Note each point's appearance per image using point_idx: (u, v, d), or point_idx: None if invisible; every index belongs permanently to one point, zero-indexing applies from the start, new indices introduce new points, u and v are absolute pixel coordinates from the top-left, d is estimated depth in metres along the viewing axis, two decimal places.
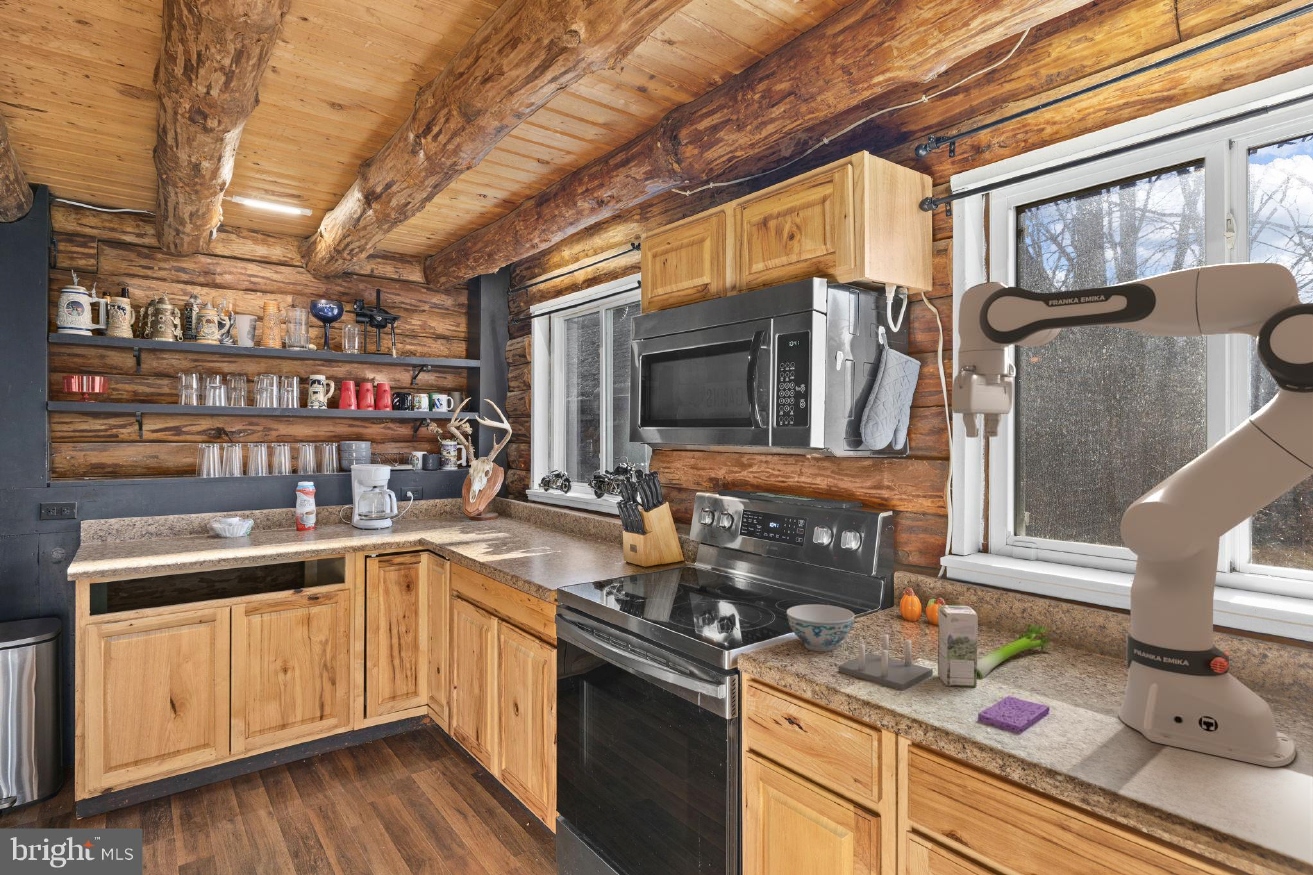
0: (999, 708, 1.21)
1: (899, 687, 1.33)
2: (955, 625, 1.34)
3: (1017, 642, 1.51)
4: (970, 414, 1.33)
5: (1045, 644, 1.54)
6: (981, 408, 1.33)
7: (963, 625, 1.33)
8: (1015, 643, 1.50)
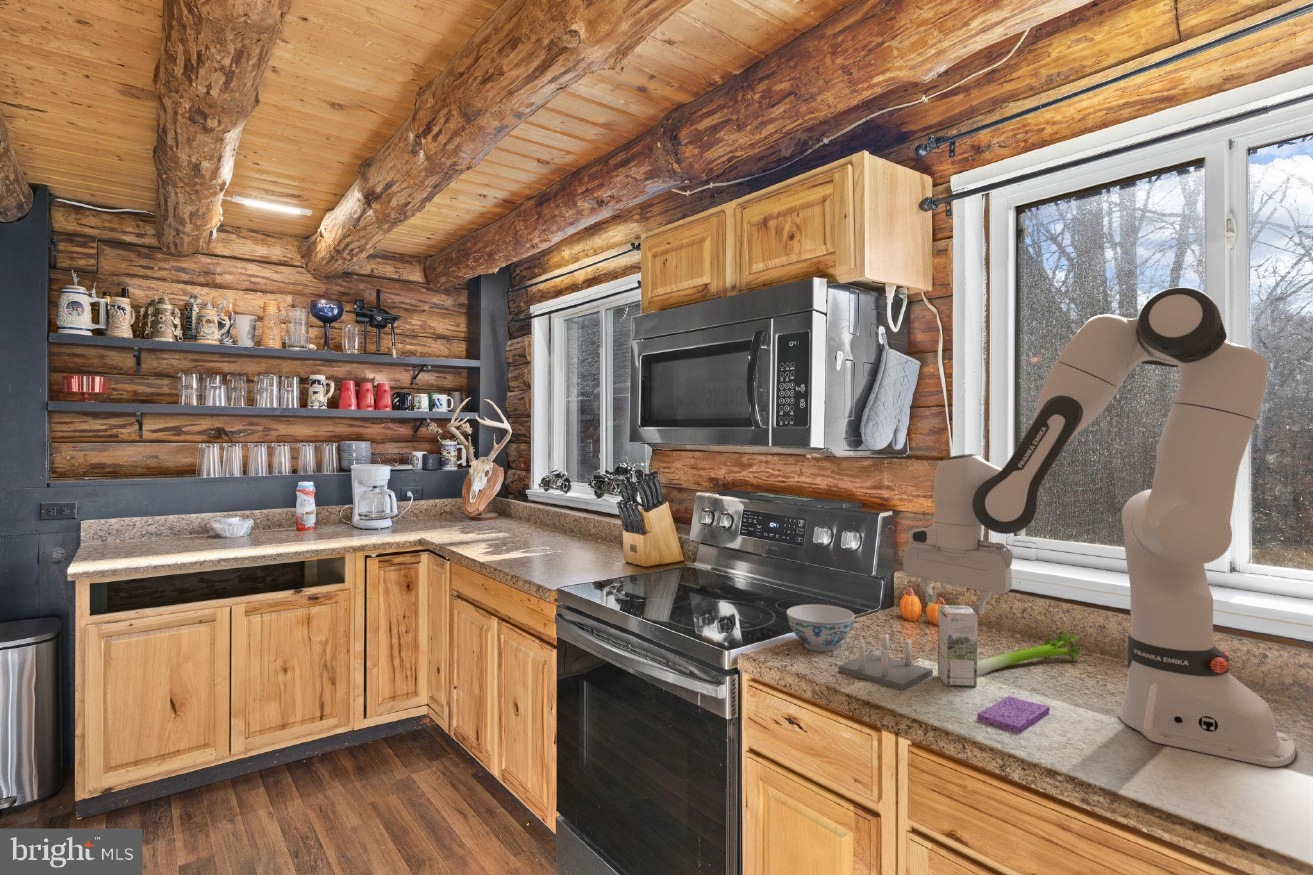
0: (999, 708, 1.21)
1: (899, 687, 1.33)
2: (955, 625, 1.34)
3: (1036, 648, 1.47)
4: None
5: (1074, 653, 1.47)
6: None
7: (963, 625, 1.33)
8: (1033, 648, 1.47)
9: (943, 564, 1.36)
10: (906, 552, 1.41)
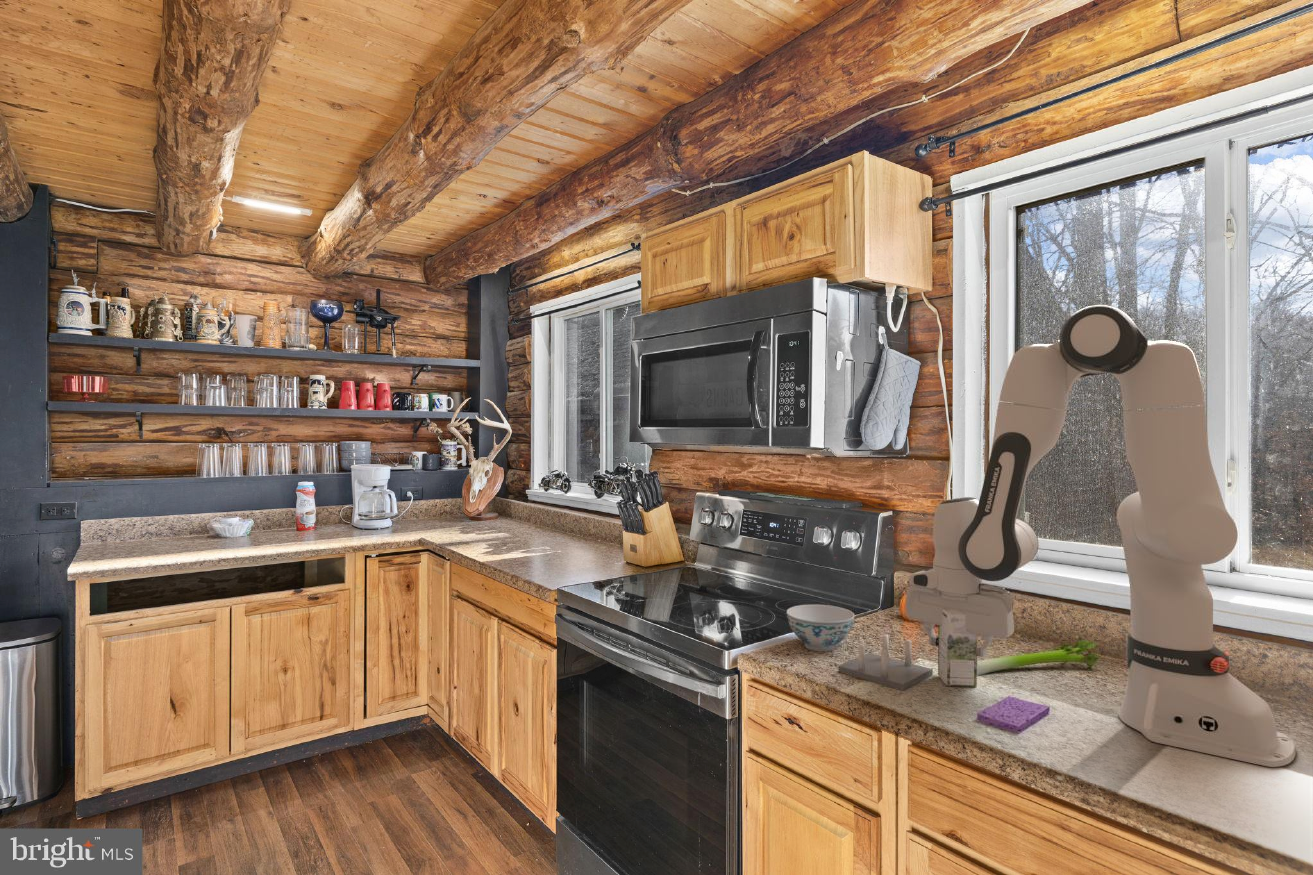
0: (999, 708, 1.21)
1: (899, 687, 1.33)
2: (955, 625, 1.34)
3: (1047, 652, 1.44)
4: None
5: (1090, 661, 1.43)
6: None
7: (963, 625, 1.33)
8: (1043, 653, 1.44)
9: None
10: (908, 595, 1.41)
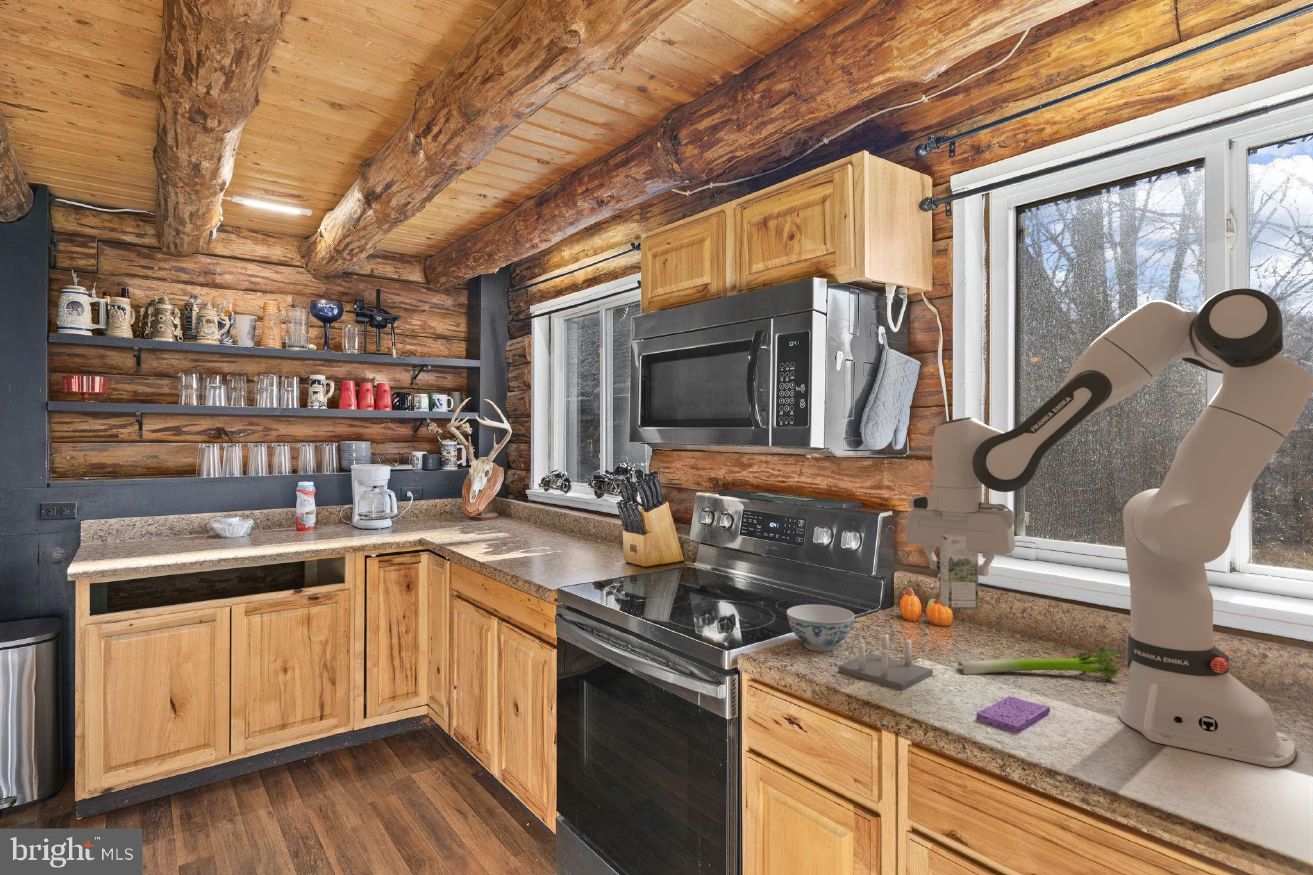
0: (998, 708, 1.21)
1: (899, 687, 1.33)
2: (955, 547, 1.33)
3: (1059, 659, 1.40)
4: (993, 552, 1.32)
5: (1107, 672, 1.36)
6: None
7: (963, 547, 1.33)
8: (1054, 659, 1.40)
9: (945, 529, 1.36)
10: (908, 519, 1.41)
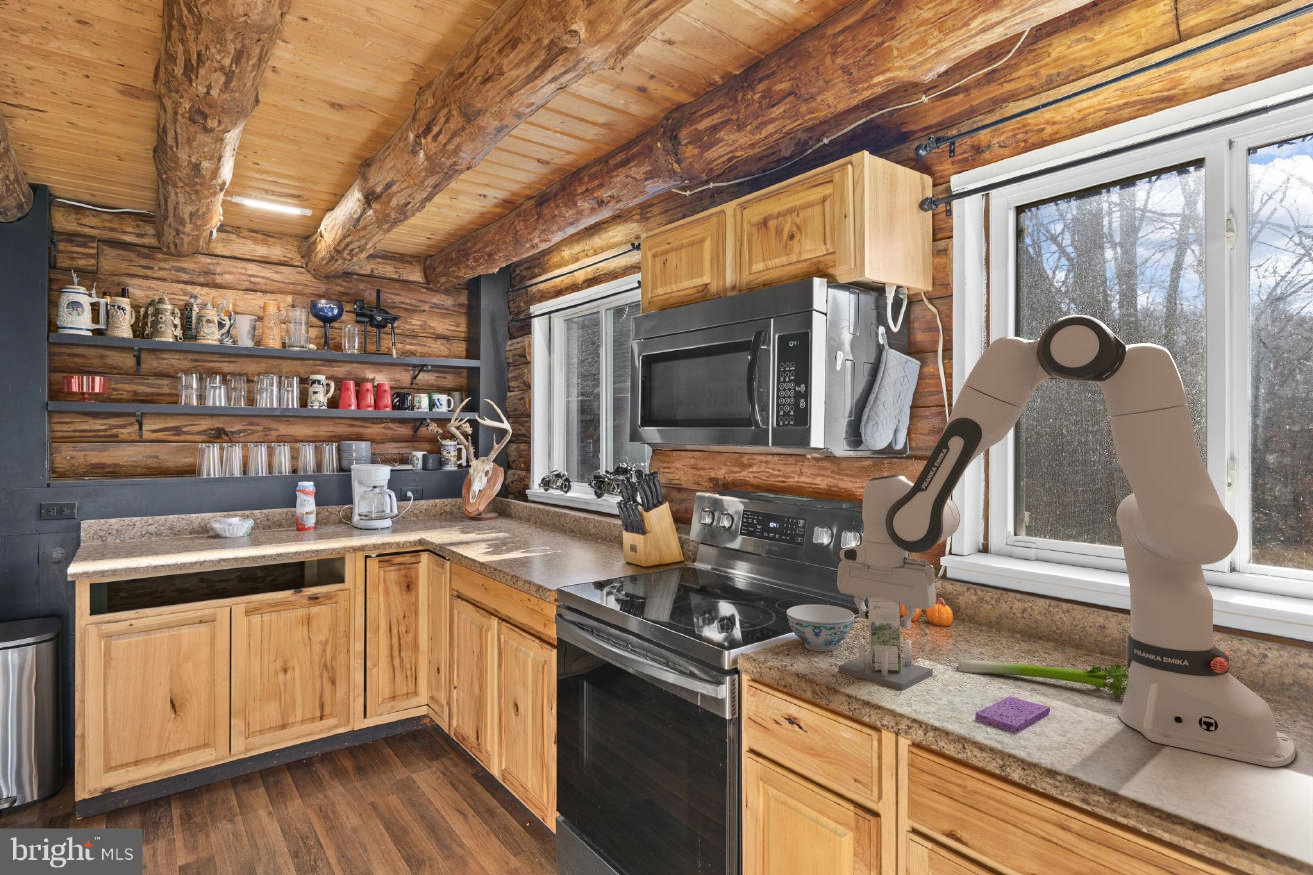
0: (998, 708, 1.21)
1: (899, 687, 1.33)
2: (877, 612, 1.38)
3: (1064, 669, 1.34)
4: None
5: (1113, 688, 1.28)
6: None
7: (885, 612, 1.38)
8: (1059, 669, 1.34)
9: (872, 581, 1.41)
10: (839, 569, 1.46)
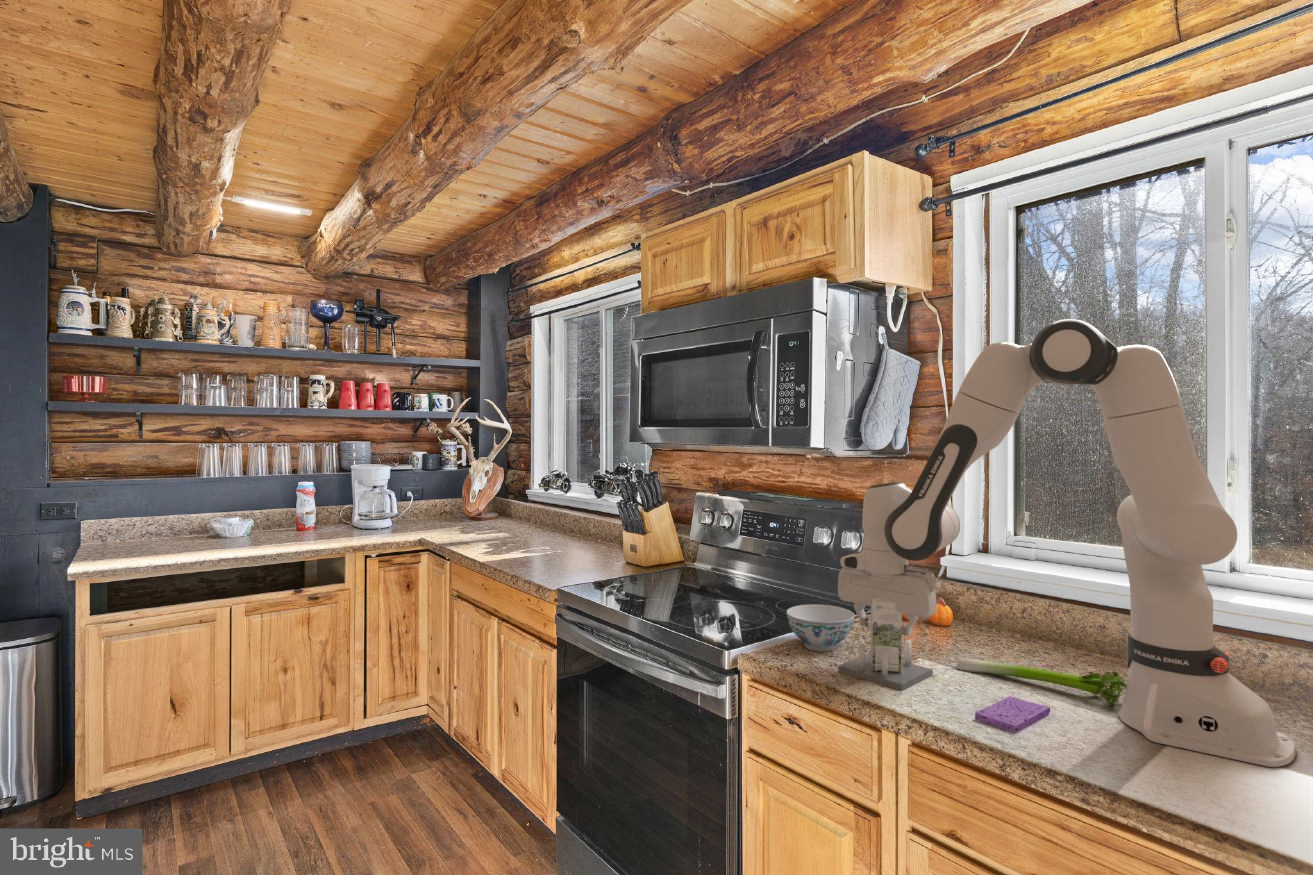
0: (998, 708, 1.21)
1: (899, 687, 1.33)
2: (880, 612, 1.38)
3: (1060, 673, 1.32)
4: None
5: (1104, 695, 1.24)
6: None
7: (888, 613, 1.38)
8: (1055, 673, 1.32)
9: (873, 589, 1.41)
10: (840, 577, 1.46)
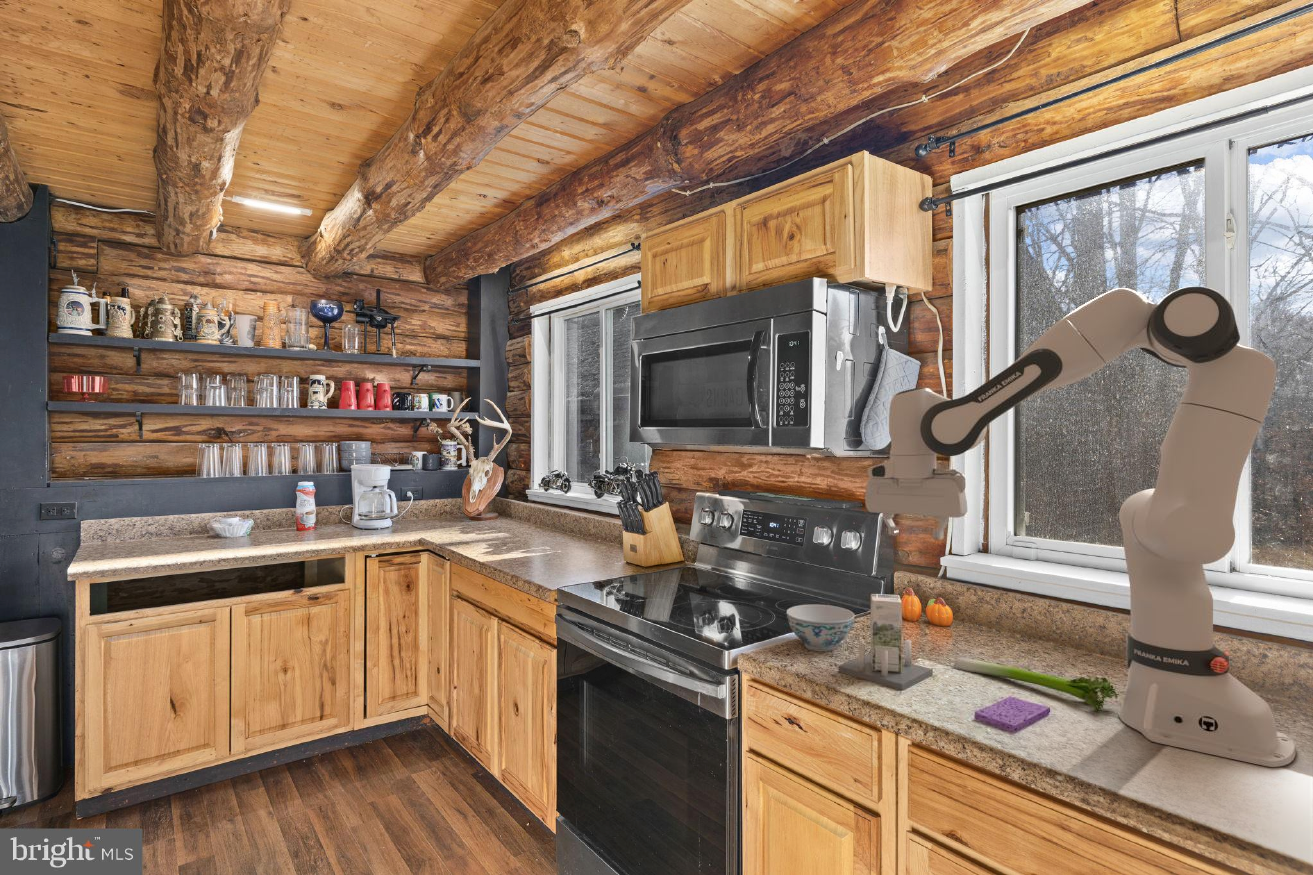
0: (997, 707, 1.21)
1: (899, 687, 1.33)
2: (880, 612, 1.38)
3: (1050, 677, 1.30)
4: (947, 517, 1.37)
5: (1089, 700, 1.22)
6: None
7: (888, 613, 1.38)
8: (1046, 676, 1.31)
9: (902, 496, 1.41)
10: (867, 488, 1.46)
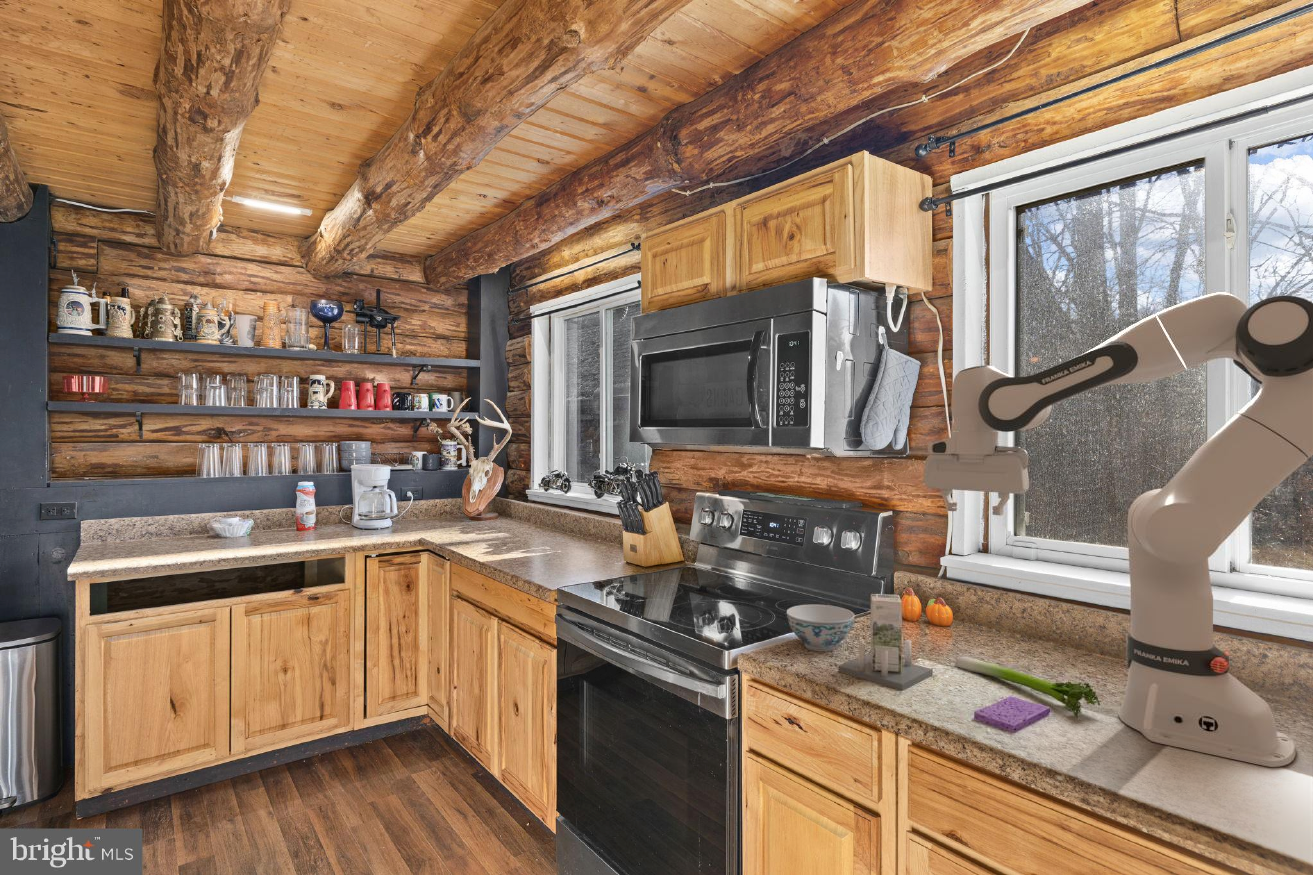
0: (997, 707, 1.21)
1: (899, 687, 1.33)
2: (880, 612, 1.38)
3: (1039, 679, 1.29)
4: (1008, 493, 1.39)
5: (1067, 705, 1.20)
6: None
7: (888, 613, 1.38)
8: (1035, 678, 1.29)
9: (962, 472, 1.43)
10: (927, 464, 1.48)
